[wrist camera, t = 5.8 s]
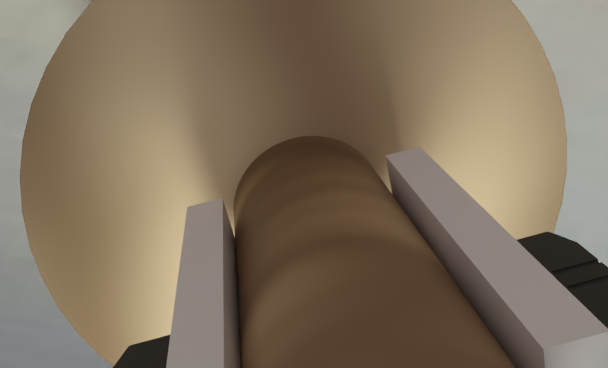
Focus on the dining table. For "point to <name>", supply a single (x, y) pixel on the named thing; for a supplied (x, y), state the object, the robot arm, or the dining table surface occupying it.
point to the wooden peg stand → (286, 167)
